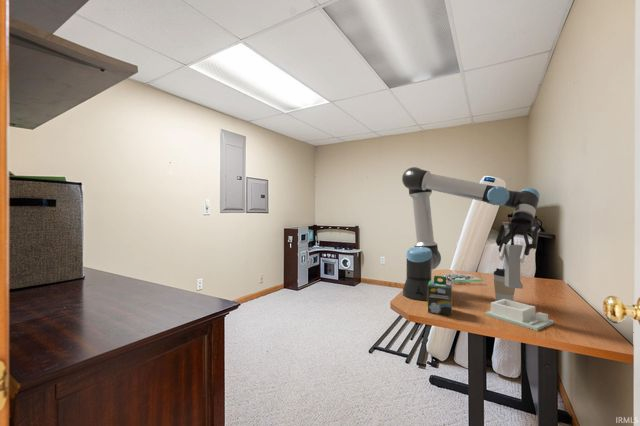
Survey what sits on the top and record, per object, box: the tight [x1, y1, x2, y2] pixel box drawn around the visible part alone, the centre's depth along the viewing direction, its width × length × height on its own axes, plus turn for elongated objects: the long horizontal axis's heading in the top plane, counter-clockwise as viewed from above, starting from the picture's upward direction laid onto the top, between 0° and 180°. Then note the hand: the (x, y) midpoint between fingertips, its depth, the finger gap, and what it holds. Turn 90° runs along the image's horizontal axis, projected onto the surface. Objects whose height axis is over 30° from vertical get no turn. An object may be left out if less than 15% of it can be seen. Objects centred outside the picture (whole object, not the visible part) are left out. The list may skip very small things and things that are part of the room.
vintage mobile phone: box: [504, 224, 524, 290], centre depth 112 cm, size 4×5×25 cm
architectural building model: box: [484, 299, 555, 332], centre depth 111 cm, size 18×14×5 cm
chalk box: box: [427, 275, 453, 316], centre depth 119 cm, size 9×9×15 cm
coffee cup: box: [492, 268, 516, 301], centre depth 133 cm, size 9×9×15 cm
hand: (511, 259), depth 110 cm, fingers closed on vintage mobile phone, 6 cm apart
